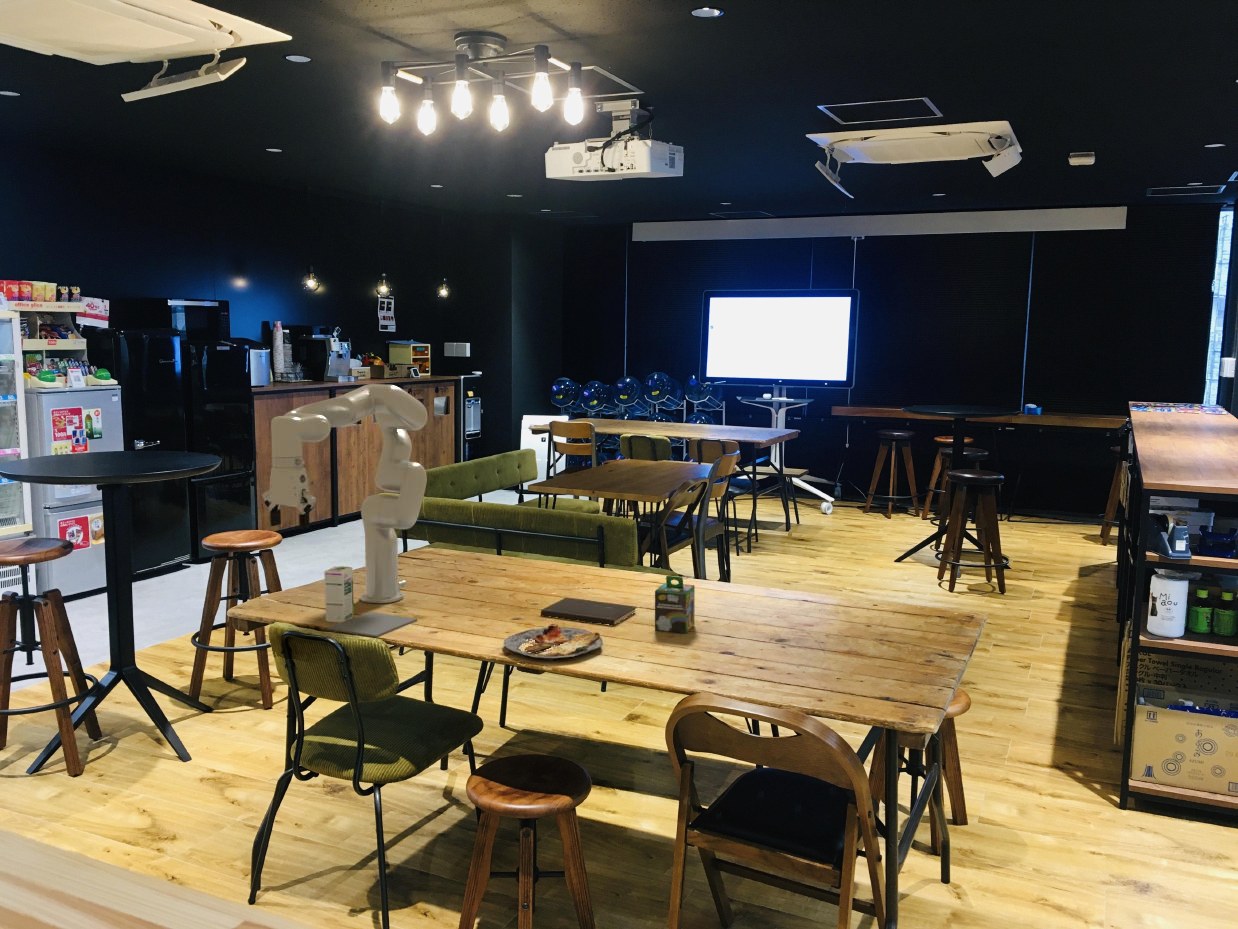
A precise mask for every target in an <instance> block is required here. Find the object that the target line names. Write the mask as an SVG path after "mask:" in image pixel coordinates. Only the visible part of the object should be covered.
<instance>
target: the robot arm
mask: <svg viewBox="0 0 1238 929" xmlns="http://www.w3.org/2000/svg"><path fill="white" fill-rule="evenodd" d="M372 415H374V418H375V421H376V423H377V425H378V427H379V429H380V431H381V434H382V437H383V446H382V451H381V454H380V457H379V462H378V465H377V468H376V473H375V482H374V483H375V485H376V487H377V488H378V489H380V490H381V491H385V492H391V493H392V492H393V493H398V494H399V495H392V494H391V495H390V494H379V493H377V494H371V495H369V496H367V497H366V498H365V499H364V500H363V501H362V505H361V508H360V513H361V514H360V515H361V519H362V523H363V530H364V545H365V546H364V548H365V549H364V552H365V553H364V554H365V556H364V558H365V560H364V562H365V565H364V566H365V567H364V568H365V592H362V594H360V601H362V602H364V603H371V604H388V603H395V602H398V601H401V600H403V598H404V593H403V592H402V591H401V588H404V587H406V586H407V581H406V580H399V550H398V548H399V542H398V541H399V540H398V536H397V532H396V531H395V529H396V530H408V529H411V528H412V527H414V525H415V524H416V522H417V520H418V518H419V515H420V511H421V507H422V502H423V500H424V496H425V493H426V487H427V482H428V479H427V477H428V476H427V471H426V469H425V467H424V466H423V465H422V464H420V463H418V462H415V461H410V460H411V454H412V449H413V445H412V439H411V438H410V436H409V433H408V431H419V430H421V429H422V428H424V426H426V424H427V421H428V410H427V408H426V407H425V405H424V404H423V403H422V402H421V401H420V400H418V399H417V398H416V397H414V396H413V395H411V394H409V393H408V392H407V391H405V390H404V389H403V388H401V387H398V386H396V385H394V384H382V383H381V384H380V383H378V384H377V383H372V384H371V383H370V384H365V385H363V386H360V387H358V388H356V389H353V390H351V391H349V392H347V393H344V394H342V395H340V396H336V397H332V398H329V399H324V400H321V401H317V402H316V401H315V402H313V403H309V404H305V405H302V406H300V407H297V408H294V409H292V410H290V411H288V412H286V413H285V414H284V415H278V416H275V417H273V418H272V419H271V422H270V429H271V431H270V432H271V452H272V457H271V458H272V459H271V460H272V468H271V470H270V477H269V478H270V479H269V489H268V490H267V491H265V492H262V494H261V496H262V498H263V501H264V505H265V506H266V507H267V510H268V512H269V516H270V518H269V519H270V522H269V523H270V526H271V527H275V526H280V525H281V524H282V520H281V518H282V517H281V509H280V507H281V506H282V507H283V506H284V507H292V508H293V507H295V508H296V509H297V510H298V511H299V513H300V514H298V524H299V526H298V527H299V529H300V530H304V529H309V528H310V525H311V524H310V514H311V513H312V510H313V509H314V508H315V505H316V503H317V502H316V501H317V498H316V497H315V496H314V495H313V494H311V493H310V485H309V484H310V482H309V476H308V474H307V470H306V469H307V468H305V467H304V465H305V463H306V461H305V459H303V457H304V456H303V442H309V443H310V442H311V443H319V442H321V441H324V440H325V439H326V438H328V437H329V436H330V433H331V430H332V428H339V427H347V426H351V425H353V424H355V423H358V422H359V421H361V420H362V421H363V420H364V419H365V418H367V417H370V416H372Z"/></svg>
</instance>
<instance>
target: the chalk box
mask: <svg viewBox="0 0 1238 929" xmlns="http://www.w3.org/2000/svg"><path fill="white" fill-rule="evenodd" d="M665 581H666V582H664V583H663V584H662V585H659V586H658V588H657V589H656V590H654V631H659V632H668V633H669V632H670V633H676V634H683V635H686V634H688V632H689V631H690V630H691V629H692V628H693V627H694V626H695V612H696V611H695V600H696V599H695V591H696V590H695V585H694V584H687V583H686V584H684V578H683V577H682V576H677V575H676V576H675V575H673V576H672V575H666V577H665ZM672 581H677V582H678V583H672Z"/></svg>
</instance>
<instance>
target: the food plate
mask: <svg viewBox="0 0 1238 929" xmlns="http://www.w3.org/2000/svg"><path fill="white" fill-rule="evenodd" d="M600 636H601V634H600V632H591V631H588V630H586V629H583V628H575V627H565V626H559V625H558V624H556V625H548V626H547V627H541V628H531V629H527V630H526V631H525V630H524V631H520V632H517V633H515V634H512V635H508V637H506V638H504V640H503V645H504V646H505V648H506V649H508V650H510V651H512V652H513V653H514V652H515V653H517V654H521V655H522V656H529V657H532V658H537V659H538V658H539V659H544V660H545V659H546V660H548V659H549V661H553V660H554V659H558V658H570V657H575V656H579V655H582V654H586V653H589V652H590V651H593V650H595V649H599V648H600V647H602V646H603V644H604V643H603V639H602V637H600ZM527 639H528V641H526V640H527ZM530 639H532V640H535V643H537V644H535V645H534V644H533V646H531V645H527V646H528V647H525V648H524V651H523V650H522V649H519V647H520V646H521V645H522V644H524V643H525V644H526V643H527V642H529V641H532V640H530ZM560 644H562V645H560ZM554 645H555V646H554ZM551 647H554V648H553V649H550V650H548V651H544V650H546V649H549V648H551ZM521 650H522V651H521ZM525 650H527V652H531V653H536V652H539V651H543V652H540V653H536V654H537V655H536V654H528V653H526V651H525Z"/></svg>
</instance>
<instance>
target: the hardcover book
mask: <svg viewBox="0 0 1238 929" xmlns="http://www.w3.org/2000/svg"><path fill="white" fill-rule="evenodd" d="M637 608H638V607H637V606H633V605H626V604H625V605H624V604H617V603H610V602H601V601H597V600H596V601H595V600H589V599H588V600H587V599H580V598H573V597H572V598H571V597H565V598H563V599H561V600H559V601H556V602H553V603H552V604H550V605H548V606H545V607H544V608H543V609H540V610H541V611H540V616H541V615H543V616H542V617H545V616H551V617H550V618H552V617H558V618H557V619H559V618H564V619H563V620H566V619H570V620H569V621H573V620H579V621H578V622H580V621H585V622H584V623H587V622H592V623H591V624H594V623H601V624H609V625H614V624H616V623H618V622H619V621H621V620H623V619H624V618H626V617H627V616H629V615H631V614H632V613H634V612H635V613H636V609H637ZM635 613H634V614H635ZM632 615H633V614H632ZM632 615H631V616H632ZM629 617H630V616H629ZM627 618H628V617H627ZM627 618H626V619H627ZM624 620H625V619H624ZM624 620H623V621H624ZM621 622H622V621H621ZM619 623H620V622H619ZM619 623H618V624H619ZM601 624H600V625H601ZM616 625H617V624H616ZM614 626H615V625H614Z"/></svg>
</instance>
